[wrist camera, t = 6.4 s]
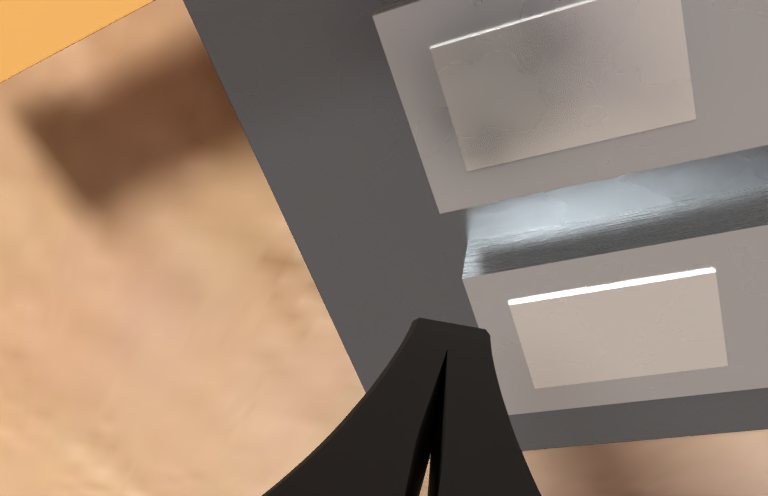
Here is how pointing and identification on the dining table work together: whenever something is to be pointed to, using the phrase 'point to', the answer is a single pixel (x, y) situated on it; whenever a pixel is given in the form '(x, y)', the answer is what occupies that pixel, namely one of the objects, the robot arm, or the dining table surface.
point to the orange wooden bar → (51, 27)
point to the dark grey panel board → (419, 202)
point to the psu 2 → (627, 304)
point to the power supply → (572, 88)
